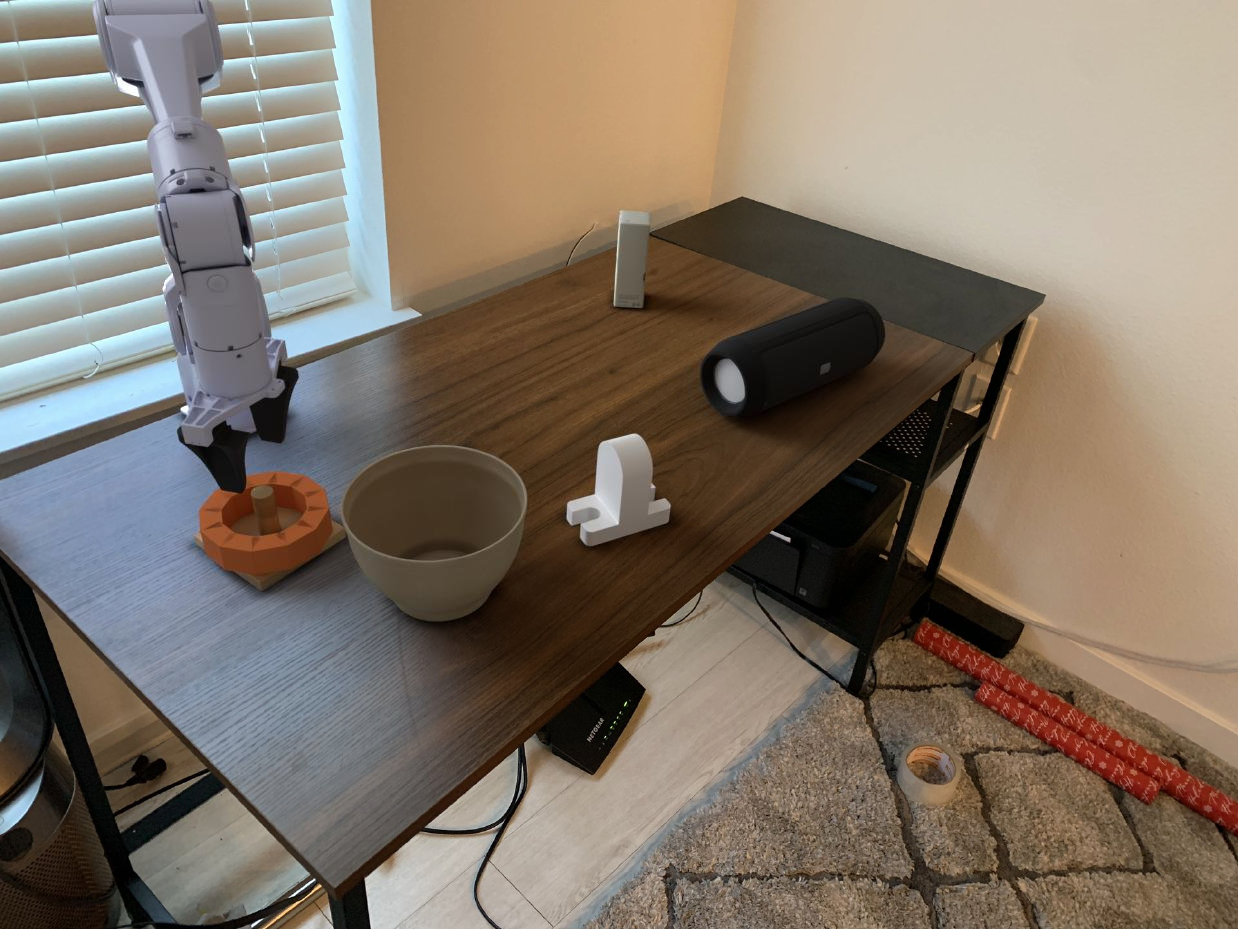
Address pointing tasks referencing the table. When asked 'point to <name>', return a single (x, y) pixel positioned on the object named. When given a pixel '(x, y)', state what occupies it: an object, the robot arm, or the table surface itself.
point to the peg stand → (271, 530)
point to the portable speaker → (791, 356)
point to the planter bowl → (435, 527)
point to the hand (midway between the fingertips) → (253, 464)
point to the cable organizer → (619, 494)
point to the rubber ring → (273, 548)
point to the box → (631, 258)
